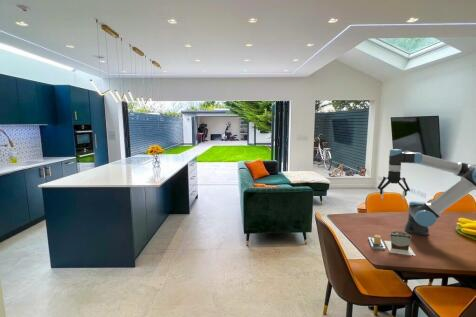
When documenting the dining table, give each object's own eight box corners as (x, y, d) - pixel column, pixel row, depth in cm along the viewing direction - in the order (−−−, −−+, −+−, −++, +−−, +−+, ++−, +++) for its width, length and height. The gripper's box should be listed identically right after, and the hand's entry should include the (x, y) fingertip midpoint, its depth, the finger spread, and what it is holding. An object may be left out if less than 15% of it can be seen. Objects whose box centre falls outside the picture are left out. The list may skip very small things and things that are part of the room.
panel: (380, 240, 178) (380, 237, 177) (385, 250, 164) (385, 247, 163) (368, 239, 180) (368, 236, 180) (371, 248, 166) (371, 245, 166)
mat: (407, 243, 173) (407, 243, 173) (415, 256, 156) (415, 255, 156) (383, 240, 177) (383, 240, 177) (390, 252, 161) (390, 252, 161)
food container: (407, 246, 168) (409, 232, 167) (411, 251, 162) (412, 236, 161) (386, 244, 172) (387, 230, 170) (389, 248, 166) (390, 233, 165)
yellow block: (379, 242, 171) (379, 235, 170) (380, 244, 167) (380, 237, 167) (373, 241, 172) (374, 234, 171) (375, 244, 168) (375, 237, 168)
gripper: (412, 170, 182) (410, 199, 185) (374, 169, 190) (372, 196, 193) (416, 172, 175) (414, 202, 178) (376, 170, 183) (374, 199, 186)
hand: (392, 199), depth 185 cm, fingers open, 13 cm apart
